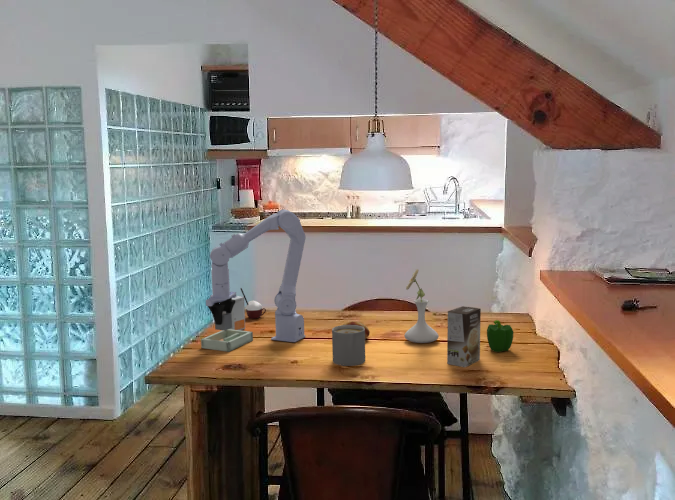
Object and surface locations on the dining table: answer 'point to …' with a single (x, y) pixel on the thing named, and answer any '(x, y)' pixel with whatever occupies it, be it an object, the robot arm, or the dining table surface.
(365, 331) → the croissant
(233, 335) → the grey-green rectangular frame
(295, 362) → the dining table surface
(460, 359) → the coffee box
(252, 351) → the dining table surface
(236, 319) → the skincare box
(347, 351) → the coffee mug
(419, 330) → the flower in vase
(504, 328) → the bell pepper
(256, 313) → the cocoa
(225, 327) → the grey block with knob
